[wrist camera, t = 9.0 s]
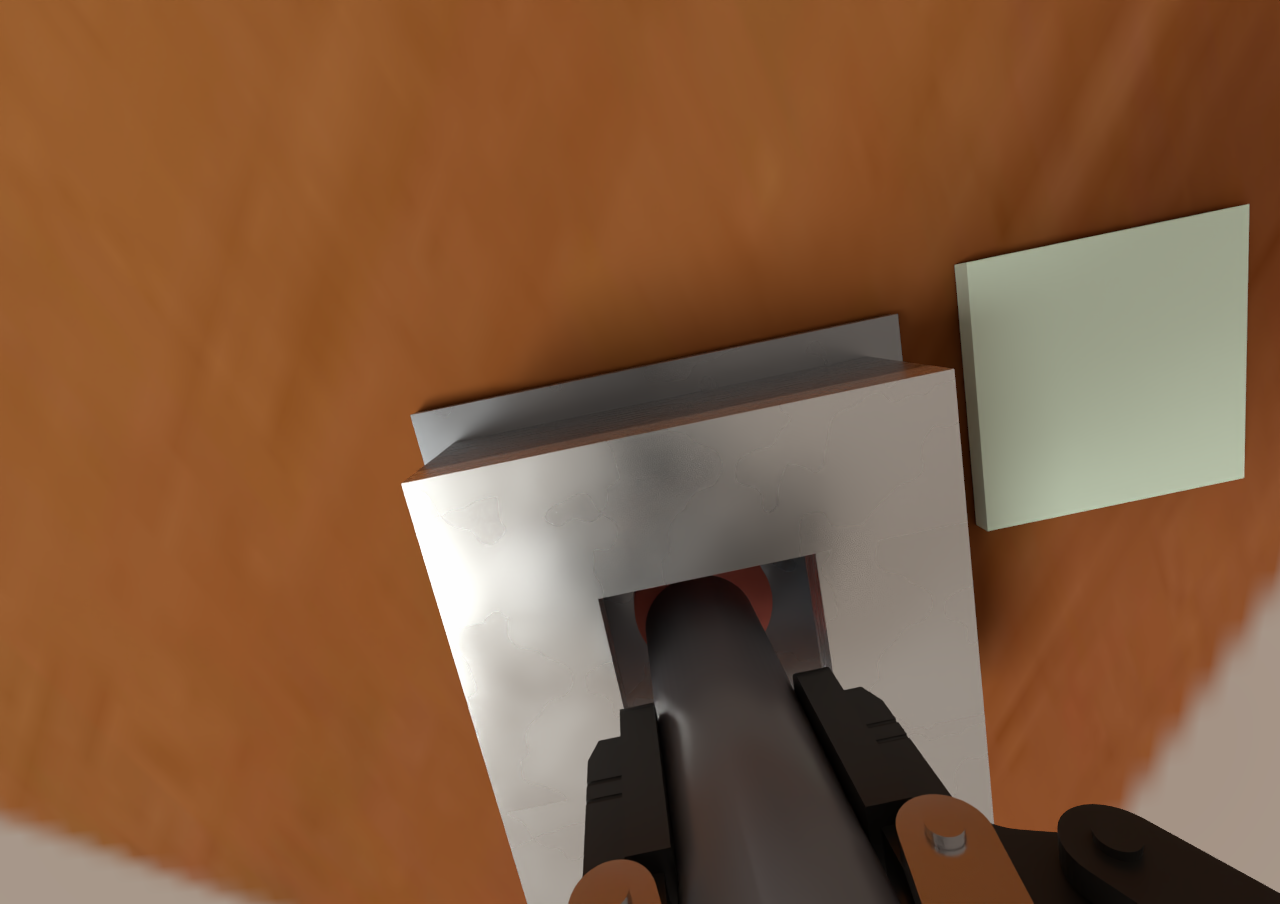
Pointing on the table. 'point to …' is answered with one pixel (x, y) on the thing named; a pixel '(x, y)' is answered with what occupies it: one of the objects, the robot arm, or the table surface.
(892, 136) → the table surface
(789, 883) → the peg
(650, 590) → the button
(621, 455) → the grey boxy piece
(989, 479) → the pad
